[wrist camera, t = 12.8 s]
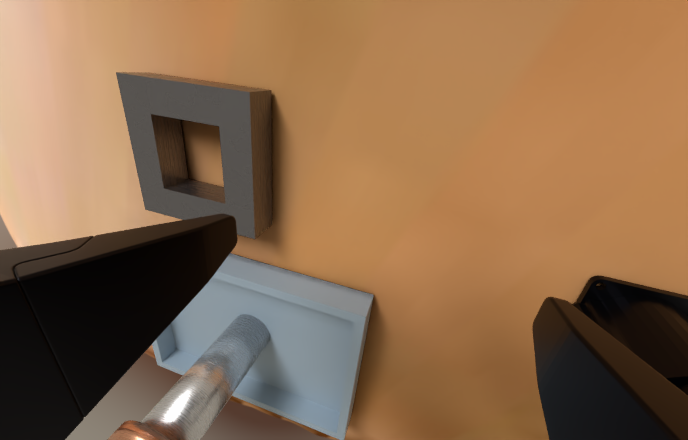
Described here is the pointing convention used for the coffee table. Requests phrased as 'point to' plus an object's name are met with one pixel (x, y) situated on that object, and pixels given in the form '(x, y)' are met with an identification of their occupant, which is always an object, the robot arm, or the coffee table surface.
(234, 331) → the pin
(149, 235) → the robot arm
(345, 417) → the tray
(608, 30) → the coffee table surface
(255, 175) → the block
